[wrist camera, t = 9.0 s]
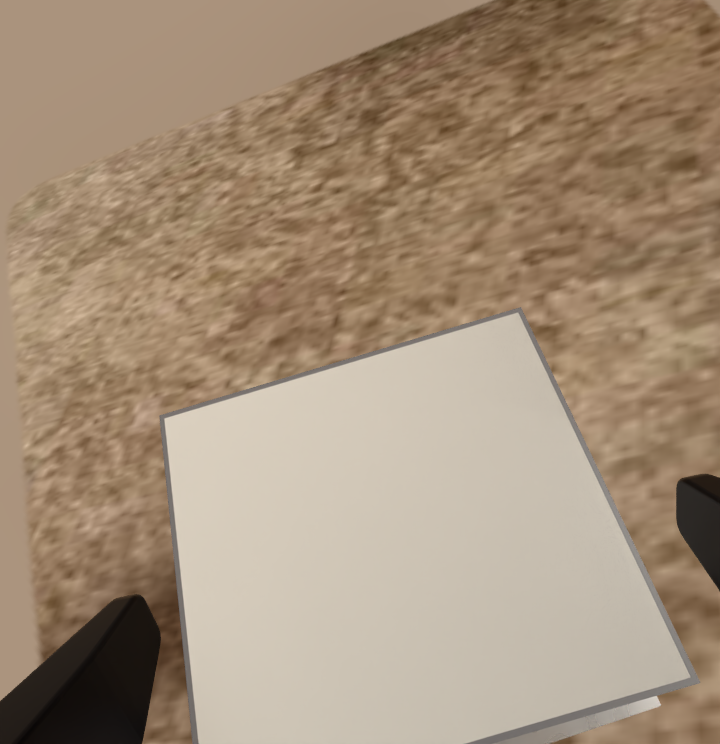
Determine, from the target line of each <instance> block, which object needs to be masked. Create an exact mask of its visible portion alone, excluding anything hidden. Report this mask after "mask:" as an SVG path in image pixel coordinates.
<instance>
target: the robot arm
mask: <svg viewBox="0 0 720 744" xmlns="http://www.w3.org/2000/svg"><path fill="white" fill-rule="evenodd" d="M676 519H677V525H678V528H679V531H680V533H681V534H682V536H683V538H684V539H685V541H686V542H687V544H688V545H689V547H690V548H691V549H692V551H693V552H694V554H695V555H696V557H697V558H698V560H699V561H700V563H701V564H702V566H703V567H704V569H705V570H706V571H707V573H708V574H709V576H710V577H711V579H712V580H713V582H714V583H715V585H716V586H717V588H718V589H719V591H720V478H719V477H716V476H713V475H709V474H699V475H694V476H689V477H685V478H682V479H680V480H679V481H678V483H677V488H676ZM160 641H161V637H160V631H159V628H158V625H157V623H156V621H155V619H154V617H153V615H152V613H151V611H150V609H149V607H148V605H147V603H146V601H145V599H144V598H143V597H142V596H141V595H139V594H134V595H129V596H124V597H119V598H116V599H114V600H113V601H111V602H110V603H109V604H108V605H107V606H106V607H105V608H104V609H102V610H101V611H100V612H99V613H98V614H97V615H96V616H95V617H94V618H92V619H91V620H90V621H89V622H88V623H87V624H86V625H85V626H83V627H82V628H81V629H80V630H79V631H78V632H77V633H76V634H75V635H73V636H72V637H71V638H70V639H69V640H68V641H67V642H66V643H65V644H63V645H62V646H61V647H60V648H59V649H58V650H57V651H56V652H55V653H53V654H52V655H51V656H50V657H49V658H48V659H47V660H46V661H44V662H43V663H42V664H41V665H40V666H39V667H38V668H37V669H36V670H34V671H33V672H32V673H31V674H30V675H29V676H28V677H27V678H26V679H24V680H23V681H22V682H21V683H20V684H19V685H18V686H17V687H16V688H14V689H13V690H12V691H11V692H10V693H9V694H8V695H7V696H5V698H3V699H2V700H1V701H0V744H142V741H143V736H144V731H145V726H146V721H147V715H148V710H149V704H150V699H151V693H152V688H153V682H154V677H155V671H156V665H157V660H158V654H159V649H160Z"/></svg>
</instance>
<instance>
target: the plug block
mask: <svg viewBox="0 0 720 744" xmlns="http://www.w3.org/2000/svg"><path fill="white" fill-rule="evenodd" d="M160 426H161V435H162V445H163V455H164V465H165V475H166V485H167V495H168V505H169V514H170V524H171V534H172V544H173V554H174V564H175V574H176V584H177V594H178V603H179V613H180V623H181V633H182V643H183V653H184V663H185V673H186V682H187V692H188V702H189V712H190V722H191V732H192V742H193V744H494V743H497V742H500V741H504V740H507V739H511V738H514V737H517V736H521V735H524V734H528V733H531V732H534V731H538V730H541V729H545V728H548V727H552V726H555V725H558V724H562V723H565V722H569V721H572V720H575V719H579V718H582V717H586V716H589V715H592V714H596V713H599V712H603V711H606V710H609V709H613V708H616V707H620V706H623V705H627V704H630V703H633V702H637V701H640V700H644V699H647V698H650V697H654V696H657V695H661V694H664V693H667V692H671V691H674V690H678V689H681V688H685V687H688V686H691V685H695V684H698V683H700V681H699V679H698V677H697V675H696V673H695V671H694V668H693V666H692V664H691V662H690V660H689V658H688V656H687V654H686V652H685V650H684V648H683V645H682V643H681V641H680V639H679V637H678V635H677V633H676V631H675V629H674V627H673V625H672V622H671V620H670V618H669V616H668V614H667V612H666V610H665V608H664V606H663V604H662V602H661V599H660V597H659V595H658V593H657V591H656V589H655V587H654V585H653V583H652V581H651V579H650V576H649V574H648V572H647V570H646V568H645V566H644V564H643V562H642V560H641V558H640V556H639V553H638V551H637V549H636V547H635V545H634V543H633V541H632V539H631V537H630V535H629V533H628V530H627V528H626V526H625V524H624V522H623V520H622V518H621V516H620V514H619V512H618V510H617V507H616V505H615V503H614V501H613V499H612V497H611V495H610V493H609V491H608V489H607V487H606V484H605V482H604V480H603V478H602V476H601V474H600V472H599V470H598V468H597V466H596V464H595V461H594V459H593V457H592V455H591V453H590V451H589V449H588V447H587V445H586V443H585V441H584V438H583V436H582V434H581V432H580V430H579V428H578V426H577V424H576V422H575V420H574V418H573V415H572V413H571V411H570V409H569V407H568V405H567V403H566V401H565V399H564V397H563V395H562V392H561V390H560V388H559V386H558V384H557V382H556V380H555V378H554V376H553V374H552V372H551V369H550V367H549V365H548V363H547V361H546V359H545V357H544V355H543V353H542V351H541V349H540V346H539V344H538V342H537V340H536V338H535V336H534V334H533V332H532V330H531V328H530V326H529V323H528V321H527V319H526V317H525V315H524V313H523V311H522V309H521V307H520V308H517V309H513V310H510V311H507V312H503V313H500V314H497V315H493V316H490V317H487V318H483V319H480V320H477V321H473V322H470V323H467V324H463V325H460V326H457V327H453V328H450V329H447V330H443V331H440V332H437V333H433V334H430V335H427V336H423V337H420V338H417V339H413V340H410V341H407V342H403V343H400V344H397V345H393V346H390V347H387V348H383V349H380V350H377V351H373V352H370V353H367V354H363V355H360V356H357V357H353V358H350V359H347V360H343V361H340V362H337V363H333V364H330V365H327V366H323V367H320V368H317V369H313V370H310V371H307V372H303V373H300V374H297V375H293V376H290V377H287V378H283V379H280V380H277V381H273V382H270V383H267V384H263V385H260V386H256V387H253V388H250V389H246V390H243V391H240V392H236V393H233V394H230V395H226V396H223V397H220V398H216V399H213V400H210V401H206V402H203V403H200V404H196V405H193V406H190V407H186V408H183V409H180V410H176V411H173V412H170V413H166V414H163V415H160Z"/></svg>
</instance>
